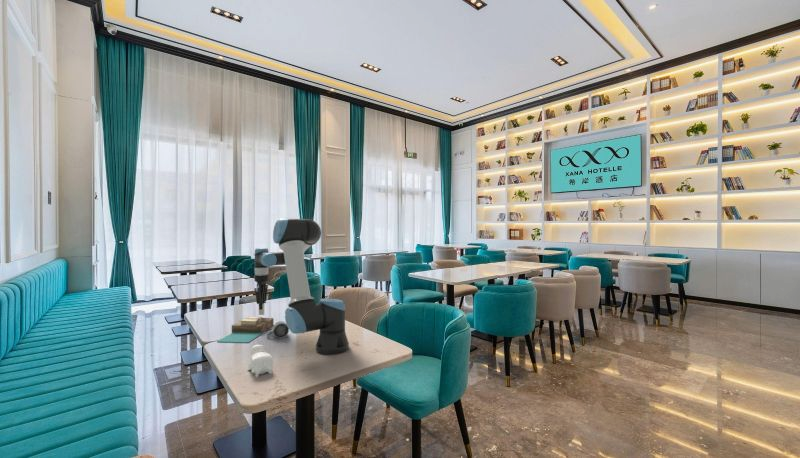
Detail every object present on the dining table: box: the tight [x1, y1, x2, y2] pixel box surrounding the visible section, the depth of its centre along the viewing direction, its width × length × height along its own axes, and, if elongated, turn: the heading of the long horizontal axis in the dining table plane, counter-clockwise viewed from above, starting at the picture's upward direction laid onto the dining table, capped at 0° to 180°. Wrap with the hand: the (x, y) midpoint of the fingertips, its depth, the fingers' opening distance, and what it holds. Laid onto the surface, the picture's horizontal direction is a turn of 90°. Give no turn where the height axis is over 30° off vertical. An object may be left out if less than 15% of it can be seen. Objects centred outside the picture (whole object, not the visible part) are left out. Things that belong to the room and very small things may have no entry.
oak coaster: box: [240, 316, 263, 325], centre depth 192 cm, size 8×8×2 cm
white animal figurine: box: [247, 344, 274, 378], centre depth 140 cm, size 9×8×15 cm
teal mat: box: [216, 332, 263, 344], centre depth 179 cm, size 15×16×1 cm
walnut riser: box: [231, 317, 275, 334], centre depth 194 cm, size 16×16×4 cm
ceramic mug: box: [266, 320, 290, 339], centre depth 181 cm, size 11×8×8 cm
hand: (261, 314), depth 204 cm, fingers closed
